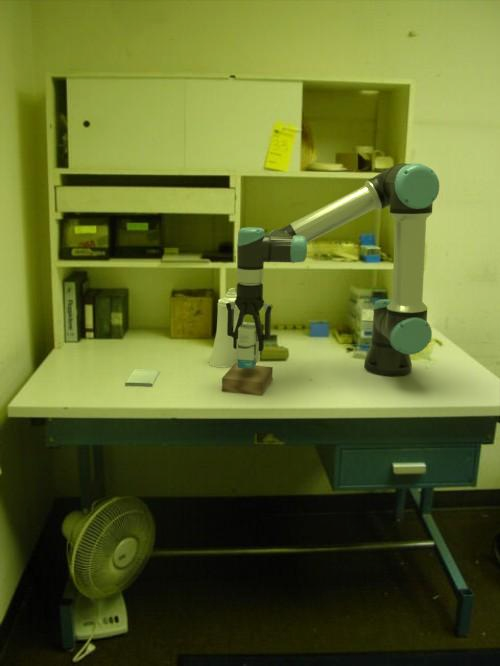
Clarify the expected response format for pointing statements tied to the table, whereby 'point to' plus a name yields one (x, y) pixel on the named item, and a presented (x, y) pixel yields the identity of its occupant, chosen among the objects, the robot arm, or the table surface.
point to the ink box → (247, 345)
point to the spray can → (224, 334)
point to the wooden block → (247, 380)
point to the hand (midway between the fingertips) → (248, 360)
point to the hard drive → (142, 377)
